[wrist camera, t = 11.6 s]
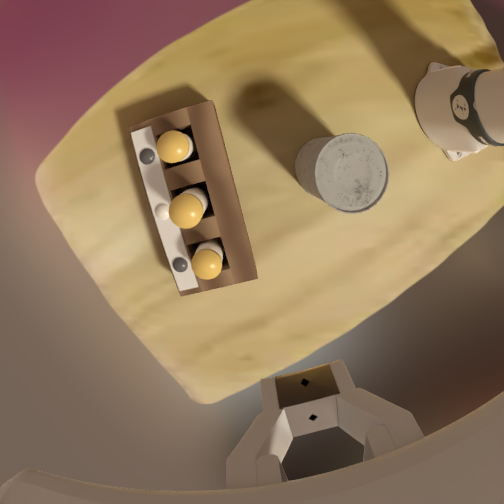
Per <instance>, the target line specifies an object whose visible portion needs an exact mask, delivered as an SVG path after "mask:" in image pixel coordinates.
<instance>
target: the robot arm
mask: <svg viewBox="0 0 504 504" xmlns="http://www.w3.org/2000/svg"><path fill="white" fill-rule="evenodd" d="M439 68H440V69H439ZM415 108H416V113H417V117H418V120H419V123H420V125H421V127H422V129H423V131H424V132H425V134H426V135H427V136H428V137H429V139H430V140H431V141H432V142H434V143H435V144H436V145H438V146H439V147H440V148H441V149H442V150H443V151H444V153H445V154H446V156H447V157H448V158H449V160H451V161H456V160H458V159H461V158H463V157H465V156H467V155H469V154H472V153H478V152H479V150H482V149H484V148H486V147H487V146H496V147H497V146H504V68H502V69H497V70H492V71H491V70H488V69H470V70H469V67H466V66H463V67H462V66H461V65H457V66H452V67H449V66H446V65H443V64H440V63H437V62H432V63H430V64H429V67H428V71H427V74H426V76H425V77H424V78H423V79H422V80H421V81H420V83H419V84H418V87H417V89H416V94H415ZM260 385H261V394H262V405H263V413H259V414H258V416H257V417H256V419H255V420H254V422H253V423H252V425H251V427H250V428H249V429H248V431H247V432H246V433H245V435H244V436H243V438H242V439H241V441H240V442H239V443H238V445H237V446H236V447H235V449H234V450H233V452H232V453H231V454H230V456H229V457H228V458H227V465H226V468H227V469H226V490H212V491H157V490H156V491H155V490H141V489H130V488H121V487H113V486H106V485H100V484H94V483H88V482H83V481H78V480H72V479H69V478H64V477H60V476H56V475H52V474H49V473H45V472H41V471H38V470H35V469H26V470H24V471H22V472H20V473H19V474H17V475H16V476H14V477H13V478H11V479H10V480H8V481H7V482H5V483H4V484H3V485H2V486H1V488H0V504H504V391H503V392H502V393H501V394H499V395H498V396H496V397H495V398H493V399H492V400H490V401H489V402H487V403H486V404H484V405H482V406H481V407H480V408H478V409H476V410H475V411H473V412H471V413H469V414H468V415H466V416H464V417H463V418H461V419H459V420H457V421H456V422H454V423H452V424H450V425H448V426H446V427H444V428H442V429H441V430H439V431H437V432H435V433H432V434H431V435H428V436H426V437H424V435H423V433H422V432H421V430H420V428H419V426H418V424H417V423H416V421H415V419H414V417H413V416H412V414H411V412H409V411H407V410H405V409H403V408H401V407H398V406H396V405H394V404H392V403H390V402H388V401H386V400H384V399H382V398H379V397H378V396H376V395H374V394H372V393H370V392H368V391H365V390H363V389H362V388H357V389H356V388H355V386H354V383H353V381H352V379H351V377H350V375H349V373H348V371H347V368H346V366H345V364H344V362H343V360H341V359H340V360H337V361H334V362H331V363H328V364H324V365H321V366H317V367H313V368H310V369H306V370H302V371H298V372H294V373H290V374H285V375H280V376H275V377H272V378H266V379H261V381H260ZM335 426H339V427H340V428H341V429H343V430H344V431H345V432H347V433H348V434H349V435H351V436H352V437H354V438H355V439H356V440H358V441H359V442H360V443H362V444H363V445H365V449H364V460H363V462H361V463H358V464H355V465H352V466H349V467H346V468H342V469H339V470H335V471H332V472H328V473H324V474H320V475H316V476H311V477H307V478H303V479H298V480H293V481H288V480H287V477H286V475H285V472H284V470H283V467H282V465H281V462H282V460H283V458H284V456H285V454H286V452H287V450H288V448H289V446H290V444H291V442H292V439H293V437H296V436H300V435H304V434H308V433H311V432H315V431H319V430H323V429H327V428H330V427H335Z"/></svg>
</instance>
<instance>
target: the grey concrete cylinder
mask: <svg viewBox="0 0 504 504" xmlns="http://www.w3.org/2000/svg"><path fill="white" fill-rule="evenodd" d="M294 168H295V175H296V178H297V180H298V182H299V184H300V185H301V187H302V188H303V189H304V190H305V191H306V192H308V193H309V194H311V195H313V196H316V197H317V198H319V199H321V200H322V201H324V202H326V203H327V204H328V205H329V206H331V207H332V208H334V209H336V210H337V211H340V212H343V213H348V214H356V213H362V212H365V211H367V210H369V209H371V208H372V207H374V206H375V205H376V204H377V203H378V202H379V201H380V200H381V199H382V197H383V195H384V193H385V192H386V189H387V186H388V181H389V167H388V163H387V159H386V157H385V155H384V153H383V151H382V150H381V148H380V147H379V146H378V145H377V144H376V143H375V142H374V141H372V140H371V139H370V138H368V137H366V136H363V135H361V134H355V133H347V134H342V135H337V136H330V137H320V138H315V139H312V140H310V141H308V142H307V143H305V144H304V145H303V146H302V147H301V149H300V150H299V152H298V154H297V156H296V159H295V167H294Z"/></svg>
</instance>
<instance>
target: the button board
mask: <svg viewBox="0 0 504 504" xmlns="http://www.w3.org/2000/svg"><path fill="white" fill-rule="evenodd" d="M148 126H151V127H152V131H153V135H154V139H155V143H156V145H157V141H158V139H159V138H160V136H161V135H162V134H164V133H165V132H168V131H179V132H182V131H185V130H188V129H192V132H193V136H194V139H195V143H196V147H197V151H198V155H199V160H196V161H192V162H189V163H185V164H182V165H179V166H175V167H172V164H171V163H168V162H165V161H163V160H162V159H161V158H160V157H159V158H160V162H161V165H162V169H163V173H164V176H165V180H166V183H167V187H168V190H169V194H170V197H171V201H172V200H173V199H174V198H175V197H177V196H178V195H180V193H179V190H178V188H182V187H185V186H188V185H192V184H195V183H199V182H203V181H206V185H207V188H208V192H209V196H210V199H211V203H212V207H213V210H212V211H208V212H205V213H204V214H203V216H202V218H201V220H200V222H199V223H198V224H197V225H196V226H194V227H192V228H187V229H185V228H180V231H181V234H182V237H183V240H184V243H185V246H186V250H187V253H188V256H189V259H190V262H191V261H192V259H193V256H194V255H195V252H196V247H195V244H194V243H197V242H201V241H205V240H209V239H213V238H217V237H221V239H222V242H223V246H224V249H225V253H226V256H227V258H225V259H222V269H221V272H220V273H219V275H218V276H216V277H215V278H213V279H208V280H206V279H201V278H199V277H198V276H196V275H195V277H196V280H197V283H198V286H199V287H196V288H192V289H187V290H183V291H179V288H178V286H177V288H178V291H179V294H180V296H185V295H189V294H194V293H198V292H203V291H207V290H211V289H216V288H220V287H224V286H229V285H233V284H237V283H242V282H246V281H250V280H254V279H258V277H257V270H256V265H255V261H254V257H253V253H252V249H251V245H250V241H249V237H248V233H247V230H246V226H245V222H244V218H243V214H242V210H241V206H240V202H239V198H238V194H237V191H236V187H235V183H234V179H233V175H232V171H231V167H230V163H229V159H228V156H227V152H226V148H225V144H224V140H223V136H222V132H221V128H220V124H219V120H218V117H217V113H216V109H215V105H214V103H213V101H212V100H210V101H206V102H202V103H199V104H195V105H192V106H189V107H185V108H182V109H179V110H176V111H172V112H169V113H166V114H163V115H160V116H157V117H155V118H152V119H149V120H146V121H143V122H141V123H138V124H135V125H133V126H130V127H128V128H129V132H130V136H131V133H132V132H135V131H137V130H140V129H143V128H146V127H148ZM131 140H132V136H131ZM132 144H133V140H132ZM133 148H134V144H133ZM134 152H135V148H134ZM135 156H136V152H135ZM136 159H137V156H136ZM137 163H138V159H137ZM138 167H139V163H138ZM139 171H140V174H141V170H140V167H139ZM141 178H142V174H141ZM142 181H143V178H142ZM143 185H144V181H143ZM144 188H145V185H144ZM145 192H146V188H145ZM146 195H147V192H146ZM147 198H148V195H147ZM148 202H149V198H148ZM149 205H150V202H149ZM150 208H151V205H150ZM151 212H152V208H151ZM152 215H153V212H152ZM153 218H154V215H153ZM154 221H155V218H154ZM155 224H156V221H155ZM156 227H157V224H156ZM157 231H158V234H159V230H158V227H157ZM159 237H160V234H159ZM160 240H161V237H160ZM161 243H162V240H161ZM162 246H163V243H162ZM163 249H164V246H163ZM164 252H165V249H164ZM165 255H166V252H165ZM166 257H167V255H166ZM167 260H168V257H167ZM168 263H169V260H168ZM169 266H170V263H169ZM170 269H171V266H170ZM171 272H172V269H171ZM172 274H173V272H172ZM173 277H174V274H173ZM174 280H175V277H174ZM175 283H176V280H175ZM176 285H177V283H176Z"/></svg>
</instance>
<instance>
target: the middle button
mask: <svg viewBox="0 0 504 504" xmlns="http://www.w3.org/2000/svg"><path fill="white" fill-rule="evenodd" d="M208 203H209V199H208V195H207V194H206V192H205V191H204V190H203V189H201V188H198V187H191V188H188V189H187V190H185V191H184V192H183V193H181V194H180V195H178V196H177V197H175V198H174V199H173V200H172V201H171V203H170V205H169V217H170V219H171V221H172V222H173V223H174V224H175V225H176V226H178V227H180V228H185V229H187V228H192V227H194V226H196V225H197V224H198V223H199V222H200V220H201V218H202V216H203V214H204V212H205V210H206V208H207V206H208Z"/></svg>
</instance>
